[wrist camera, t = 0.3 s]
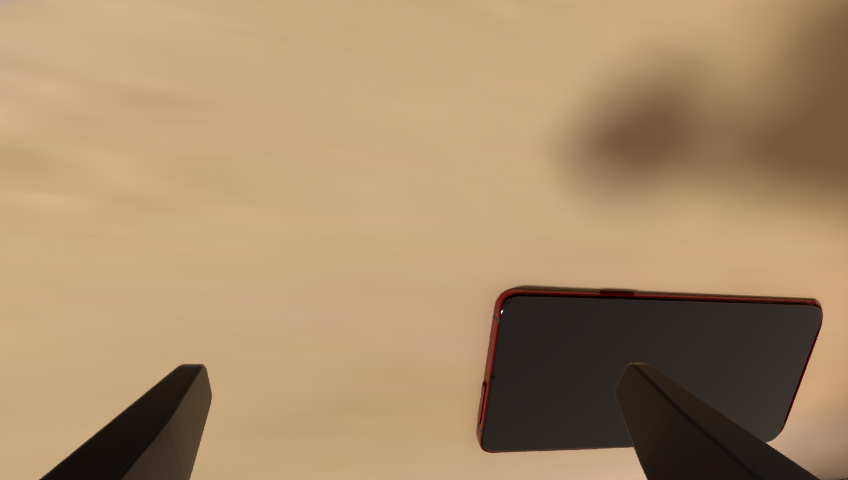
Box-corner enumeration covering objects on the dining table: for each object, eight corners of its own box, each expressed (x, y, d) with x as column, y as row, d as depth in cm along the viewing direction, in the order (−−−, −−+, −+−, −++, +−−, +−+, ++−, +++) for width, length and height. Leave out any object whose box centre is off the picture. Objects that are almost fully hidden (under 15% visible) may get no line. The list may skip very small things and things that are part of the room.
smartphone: (782, 447, 31) (476, 459, 27) (763, 433, 33) (470, 442, 29) (836, 303, 28) (501, 292, 24) (812, 294, 30) (493, 282, 26)
